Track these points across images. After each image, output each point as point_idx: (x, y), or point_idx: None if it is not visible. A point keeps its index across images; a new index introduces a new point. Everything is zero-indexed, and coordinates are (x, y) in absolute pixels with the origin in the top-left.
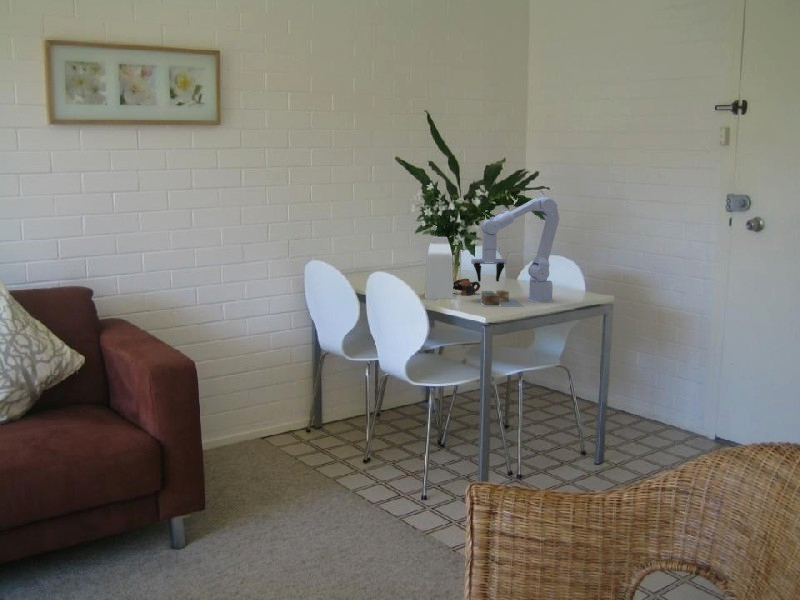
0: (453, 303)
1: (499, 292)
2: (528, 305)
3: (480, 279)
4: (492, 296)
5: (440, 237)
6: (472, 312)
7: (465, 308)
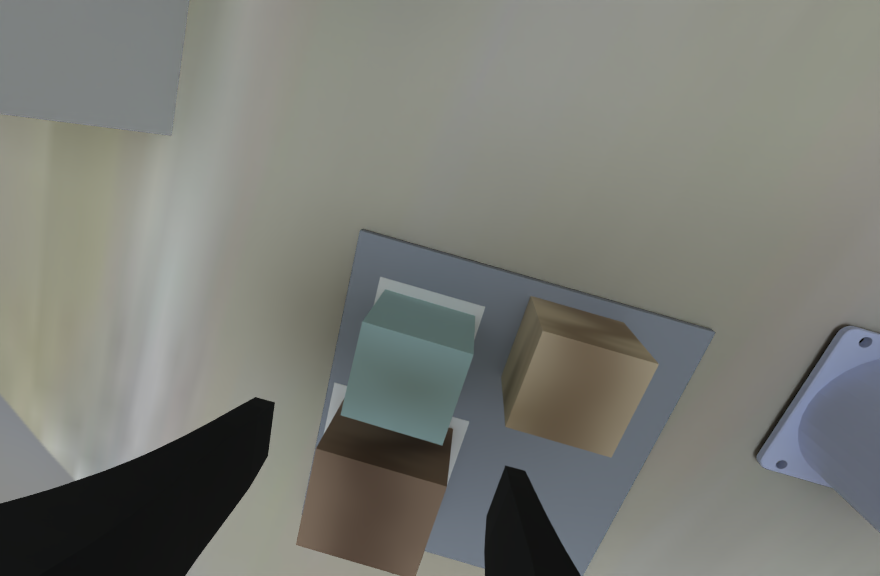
0: (141, 308)
1: (514, 427)
2: (657, 530)
3: (247, 484)
4: (358, 557)
5: None
6: None
7: None
